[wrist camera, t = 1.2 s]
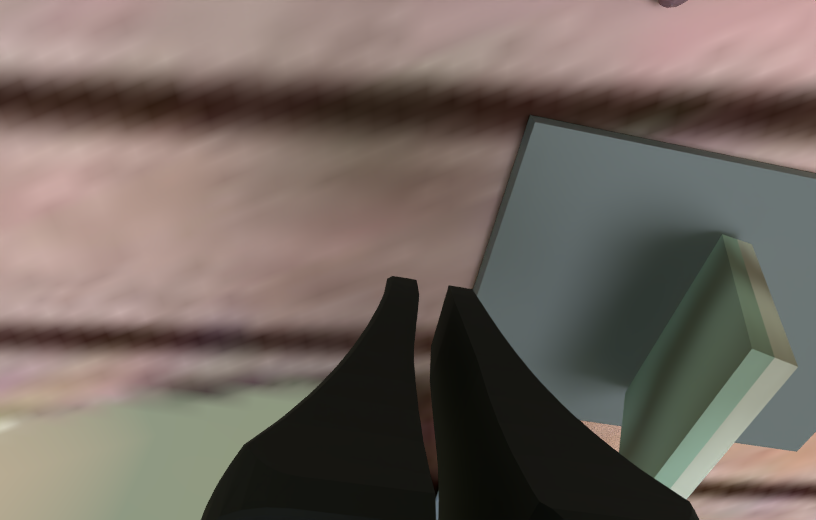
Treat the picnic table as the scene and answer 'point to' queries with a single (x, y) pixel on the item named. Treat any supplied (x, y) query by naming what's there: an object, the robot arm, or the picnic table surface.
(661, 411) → the tile
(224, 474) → the robot arm
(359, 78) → the picnic table surface
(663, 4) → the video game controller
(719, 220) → the board
